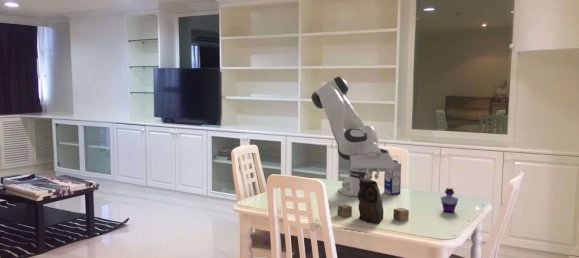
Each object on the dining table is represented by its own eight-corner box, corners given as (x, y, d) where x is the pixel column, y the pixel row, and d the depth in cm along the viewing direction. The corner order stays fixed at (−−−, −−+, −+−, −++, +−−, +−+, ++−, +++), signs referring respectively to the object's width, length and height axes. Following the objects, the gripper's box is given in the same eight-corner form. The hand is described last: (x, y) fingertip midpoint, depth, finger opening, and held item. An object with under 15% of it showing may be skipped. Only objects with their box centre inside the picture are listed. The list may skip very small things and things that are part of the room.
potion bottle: (459, 210, 235) (460, 187, 234) (456, 214, 227) (456, 191, 226) (442, 208, 239) (442, 185, 238) (438, 212, 232) (438, 188, 231)
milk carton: (383, 192, 274) (384, 159, 272) (393, 191, 277) (393, 158, 275) (391, 195, 268) (391, 161, 266) (400, 193, 270) (401, 160, 268)
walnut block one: (337, 215, 227) (337, 205, 226) (345, 214, 229) (345, 203, 229) (343, 217, 222) (343, 207, 222) (351, 216, 225) (351, 206, 224)
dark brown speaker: (379, 225, 211) (380, 182, 208) (352, 221, 215) (353, 180, 213) (384, 217, 222) (385, 176, 220) (358, 214, 227) (359, 174, 225)
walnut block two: (393, 219, 220) (393, 208, 220) (401, 217, 223) (401, 207, 222) (400, 221, 216) (400, 211, 216) (408, 220, 218) (408, 209, 218)
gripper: (350, 150, 223) (352, 173, 214) (392, 150, 223) (396, 174, 214) (349, 158, 228) (350, 181, 219) (390, 158, 228) (393, 181, 219)
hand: (373, 177), depth 217 cm, fingers closed
